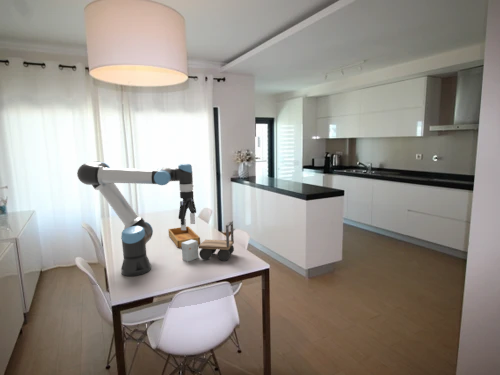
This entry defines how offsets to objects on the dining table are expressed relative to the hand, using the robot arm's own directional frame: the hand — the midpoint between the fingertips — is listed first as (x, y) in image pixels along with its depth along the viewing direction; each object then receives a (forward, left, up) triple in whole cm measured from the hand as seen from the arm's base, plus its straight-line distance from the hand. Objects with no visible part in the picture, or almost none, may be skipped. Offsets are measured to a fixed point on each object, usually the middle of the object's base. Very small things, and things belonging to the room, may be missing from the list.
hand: (188, 226), depth 181 cm
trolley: (+5, -15, -19) cm, 25 cm away
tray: (+34, +19, -20) cm, 43 cm away
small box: (0, 0, -20) cm, 20 cm away
